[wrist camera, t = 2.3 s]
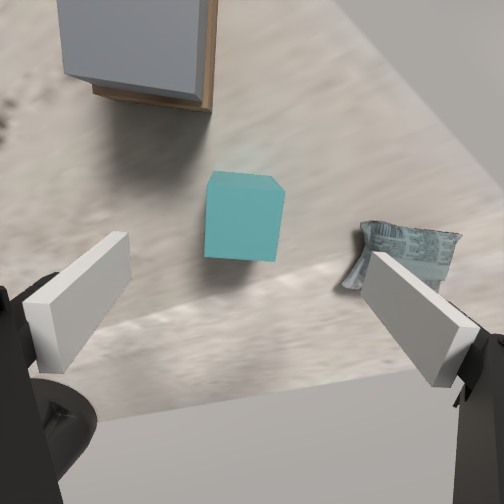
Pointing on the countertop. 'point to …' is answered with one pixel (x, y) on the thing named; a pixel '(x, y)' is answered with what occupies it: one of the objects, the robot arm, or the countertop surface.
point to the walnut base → (175, 102)
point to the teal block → (243, 216)
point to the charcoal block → (136, 44)
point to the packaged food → (406, 252)
